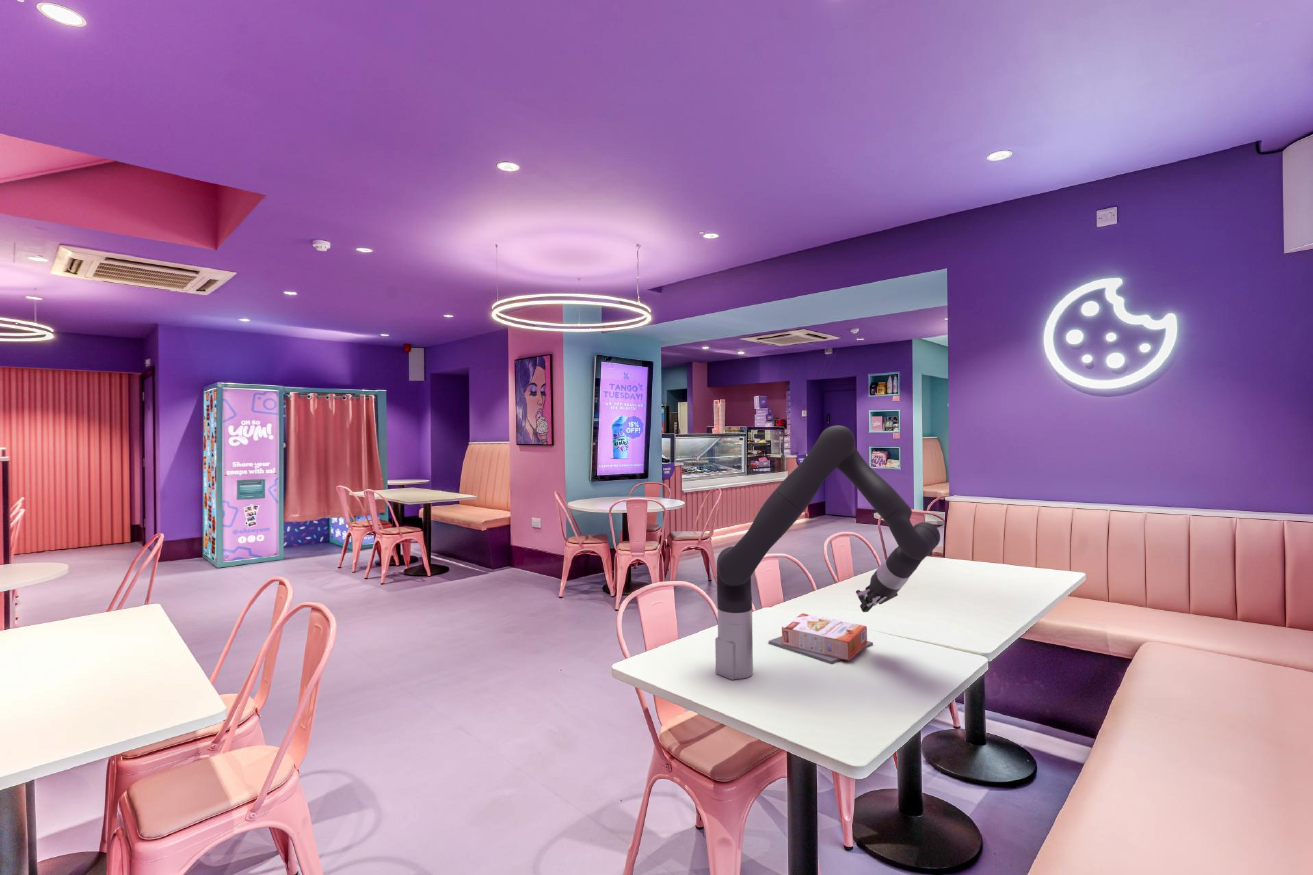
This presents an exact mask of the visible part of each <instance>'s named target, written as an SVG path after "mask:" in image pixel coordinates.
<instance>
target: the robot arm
mask: <svg viewBox="0 0 1313 875" xmlns="http://www.w3.org/2000/svg"><path fill="white" fill-rule="evenodd" d="M836 469H838V470H839V471H840V472H841V473H843V475H844V476H845V477H846V478H847V479H848V480H849V481H850V482H851V483H852V484H853V485H854V486H855V487H856V488H857V490H858V491H859V492H860V494H861V495H862V496H863V497H864V499H866V501H867V502H868V503H869V504H870V506H871V507H872V508H873V510H875V512H876V513H877V514H878V515H879V516H880V518H882V519H883V521H884V522H885V523H886V524H887V526H888V528H889V530H890V532H891V534H892V537H893V538H894V540H895V542H896V544H897V545H898V546H896V547H895V549H893V551H892V552H891V553H890V554H889V556H887V558H886V559H885V560H884V561H883V562H882V563H881V564H880V565H879V566H878V567H877V569H876V570H875V571H874V573H873V574H872V575H871V577H870V582H869V585H867V586H866V587H865V589H864V590H860V589H857V590H856V591H855V593H856V595H857V597H858V600H859V602H860V605H859V608H860V609H861V611H862V612H863V613H868V612H869V611H870V610H871V609H872V608H873V607H876V606H877V605H878V604H879V605H882V604H884V603H886V602H888V601H890V600H891V599H894V598H896V597H898V596H899V594H898V593H899V591H900V590H901V589H902V587H904V586H905V584H906V583H908V580H909V579H910V577H911V576H912V575H913V573H914V572H915V571H916V570H917V569H918V567H919V565H921V562H923V561H924V560H925V558H927V557H928V556H929V555H930V554H931V553H932V552H933V550H935V548H936V547H937V546H938V545H939V544H940V542H941V533H940V530H939V529H938V527H937V526H935V525H934V524H933V523H931V522H926V521H922V522H919V523H916V524H915V525H913V524H912V522H911V518H912V514H913V510H912V508H911V506H910V505H908V503H907V502H906V501H905V499H904V498H902V496H900V494H899V493H898V492H897V491H896V489H894V488H893V486H892V485H890V484H889V483H888V482H887V481H886V480H885V479H884V478H883V477H881V475H880V474H878V473H877V472H876V471H875V470H874V469H873V468H872V467H871V466H870V465H869V464H868V463H867V462H866V461H865V459H864V458H863V456H862V455H861V454H860V452H859V450H858V449H857V447H856V438H855V435H854V433H853V431H851V429H850V428H848V427H847V426H844V425H839V424H837V425H832V426H829V427H827V428H826V429H823V431H822V432H821V434H819V436H818V438H817V440H816V442H815V444H813V447H812V448H811V449H810V451H809V452H808V454H807V455H806V457H805V458H804V459H803V460H802V461H801V463H800V464H799V465H798V466H797V467H795V468H794V470H792V471H791V472H790V473H789V474H788V476H786V478H785V479H783V480H782V481H781V483H780V484H779V485H778V486H777V487H776V488H775V490H774V491H773V492H772V493H771V494H770V496H768V497H767V499H766V500H765V502H764V503H763V504H762V506H761V507H760V509H759V511H758V512H757V514H756V515H755V517H754V519H753V521H752V523H751V525H750V526H749V528H748V530H747V531H746V533H745V534H744V535H743V536H742V538H741V539H740V540H739V541H738V542H737V543H736V544H734V545H733V546H728V547H725V548H724V549H722V550H721V551H720V553H719V554H718V556H717V559H716V600H717V604H716V605H717V637H715V640H714V644H715V647H714V648H715V649H714V651H715V652H714V653H715V674H717V675H719V676H721V677H724V678H727V679H729V680H732V681H734V680H740V679H742V680H743V679H747V678H750V677H751V676H752V675H753V673H754V660H753V659H754V656H753V655H754V653H753V651H754V650H753V645H754V644H753V643H754V642H753V598H752V596H753V595H752V575H753V574H754V573H755V571H756V569H757V568H758V566H759V565H760V563H761V562H762V561H763V559H764V557H765V556H766V555H767V553H768V552H769V551H770V550H771V549H772V547H774V545H775V544H777V543H778V541H780V539H781V538H782V537H783V535H785V533H787V531H788V530H790V528H791V527H792V526H793V525H794V524H795V523H796V521H797V520H798V519H799V518H800V517H801V515H803V513H804V512H805V510H806V509H807V508H808V506H809V505H810V504H811V502H812V501H813V499H814V498H815V497H816V494H817V493H818V491H819V489H820V488H821V486H822V485H823V483H824V481H825V480H827V478H828V477H829V476H830V475H831V473H833V471H834V470H836Z"/></svg>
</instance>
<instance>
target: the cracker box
mask: <svg viewBox="0 0 1313 875" xmlns="http://www.w3.org/2000/svg"><path fill="white" fill-rule="evenodd" d="M781 636H782V644H783V645H786V646H791V647H795V648H799V649H803V650H807V651H811V652H815V653H820V654H824V655H828V656H832V657H836V658H841V659H842V660H846V661H851V660H852V658H854V657H855V656H857V654H858V653H860V652H861V651H862V650H861V649H862V648H864V647H865V646H866V645H867V641H868V628H867V625H863V624H859V623H858V624H857V623H854V622H853V623H852V622H848V621H843V620H838V619H834V618H828V617H824V616H818V615H813V614H809V613H803V612H802V613H801V614H799V615H798V616H796V617H794V618H793V619H792V620H790V621H789V622H787V623H786V624H784V625H782V626H781ZM860 650H861V651H860Z"/></svg>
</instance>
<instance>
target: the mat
mask: <svg viewBox="0 0 1313 875" xmlns="http://www.w3.org/2000/svg"><path fill="white" fill-rule="evenodd" d="M767 643H768V644H769V645H772V646H774V647H779V648H782V649H784V650H788V651H791V652H793V653H796V654H800V655H802V656H805V657H809V658H812V659H815V660H818V661H821V662H824V663H828V664H831V665H833V664H835V663H837V662H839V661H842V660H843V659H841V658H836V657H832V656H828V655H824V654H820V653H815V652H811V651H807V650H803V649H799V648H795V647H791V646H786V645H783V644H782V635H781V636H777V637H776V638H772V639H770V640H768V642H767ZM871 645H872V646H874V642H873V641H869V640H867V645H866V646H865V647H864V648H862V649H861V650H860V651H859V652H862V651H864V650H866V649H868V648H870V647H872V646H871ZM867 647H868V648H867Z"/></svg>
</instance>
